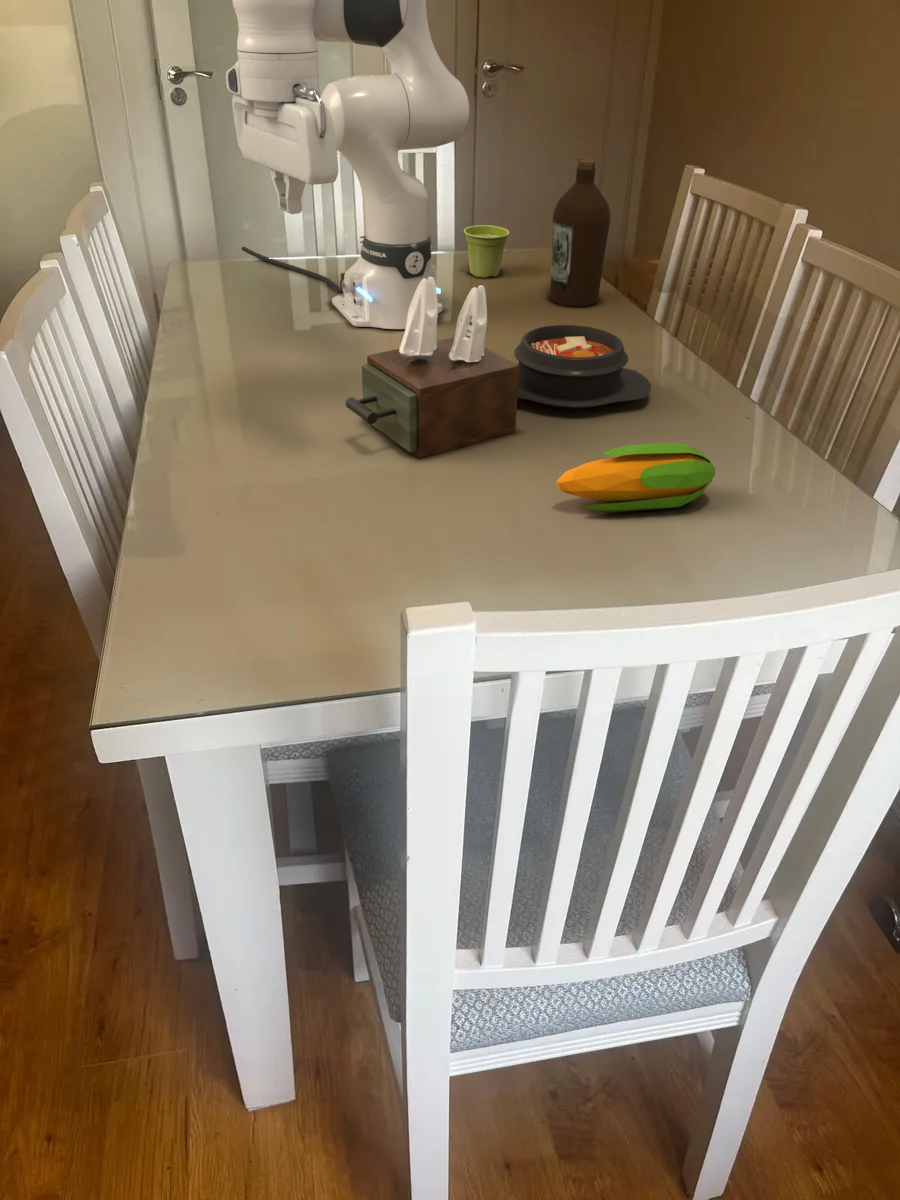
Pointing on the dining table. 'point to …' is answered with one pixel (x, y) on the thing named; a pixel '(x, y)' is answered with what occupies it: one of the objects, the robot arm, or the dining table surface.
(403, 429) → the drawer
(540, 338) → the casserole
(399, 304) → the robot arm
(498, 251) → the plant pot
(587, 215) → the olive oil
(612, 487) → the corn
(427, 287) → the shaker set
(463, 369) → the cabinet
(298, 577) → the dining table surface
